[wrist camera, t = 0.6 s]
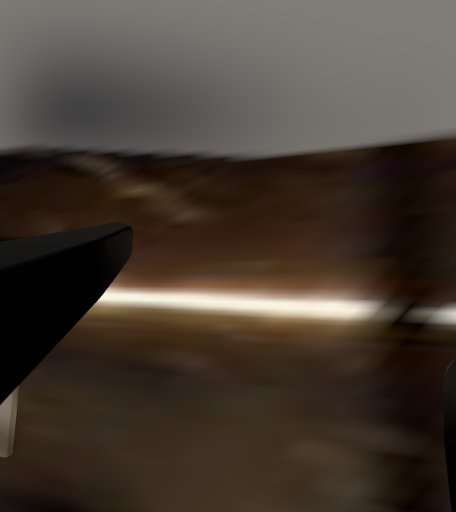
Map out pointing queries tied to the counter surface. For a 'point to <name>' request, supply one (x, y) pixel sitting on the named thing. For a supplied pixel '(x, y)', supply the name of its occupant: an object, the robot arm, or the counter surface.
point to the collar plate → (8, 423)
